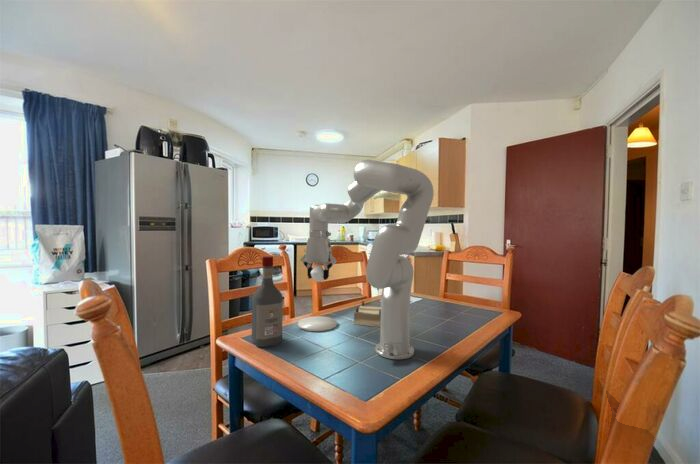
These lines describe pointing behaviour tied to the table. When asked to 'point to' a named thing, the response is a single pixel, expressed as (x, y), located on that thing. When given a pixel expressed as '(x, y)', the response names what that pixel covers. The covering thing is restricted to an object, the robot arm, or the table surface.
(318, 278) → the white rounded piece
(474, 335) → the table surface
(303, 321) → the white plate
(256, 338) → the liquor
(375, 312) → the pegged square board
